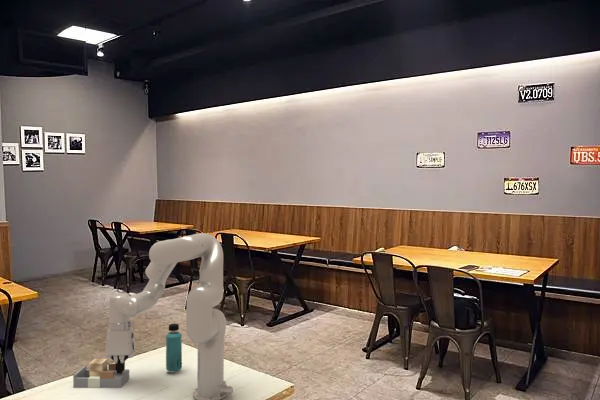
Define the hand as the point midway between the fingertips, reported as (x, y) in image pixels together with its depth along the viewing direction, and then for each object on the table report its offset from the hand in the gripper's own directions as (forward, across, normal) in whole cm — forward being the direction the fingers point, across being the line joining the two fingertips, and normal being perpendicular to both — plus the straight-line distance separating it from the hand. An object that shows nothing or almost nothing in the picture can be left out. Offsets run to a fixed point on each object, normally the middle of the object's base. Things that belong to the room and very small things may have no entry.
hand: (120, 372), depth 181 cm
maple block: (+1, +8, 0) cm, 9 cm away
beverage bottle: (+5, -18, -11) cm, 21 cm away
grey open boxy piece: (+4, +7, 0) cm, 8 cm away
